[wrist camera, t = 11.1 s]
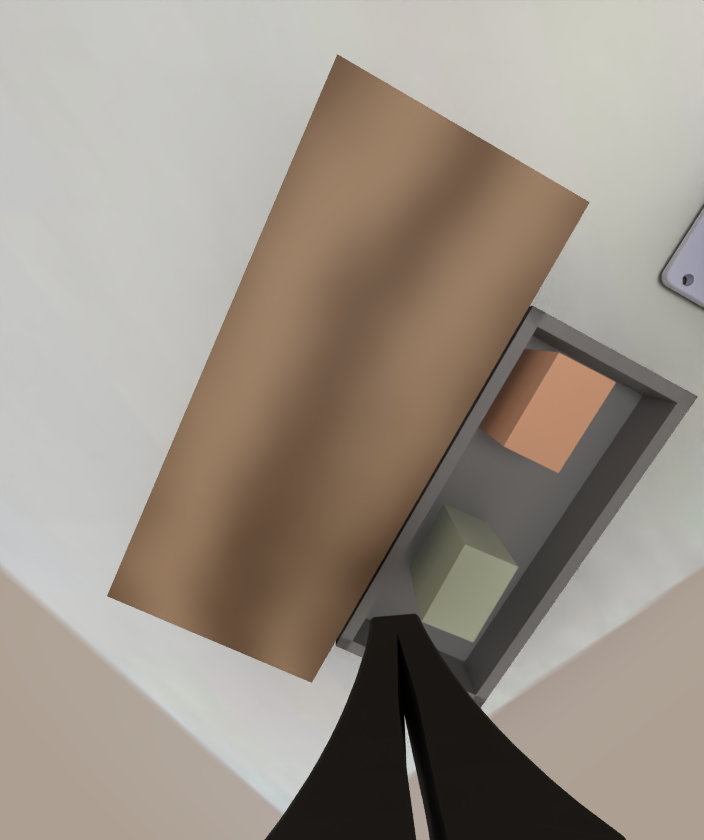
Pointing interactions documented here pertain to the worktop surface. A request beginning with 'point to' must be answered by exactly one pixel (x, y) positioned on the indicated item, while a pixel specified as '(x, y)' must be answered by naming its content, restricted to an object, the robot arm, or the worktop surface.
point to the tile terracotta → (545, 406)
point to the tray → (527, 501)
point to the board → (341, 371)
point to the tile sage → (460, 573)
